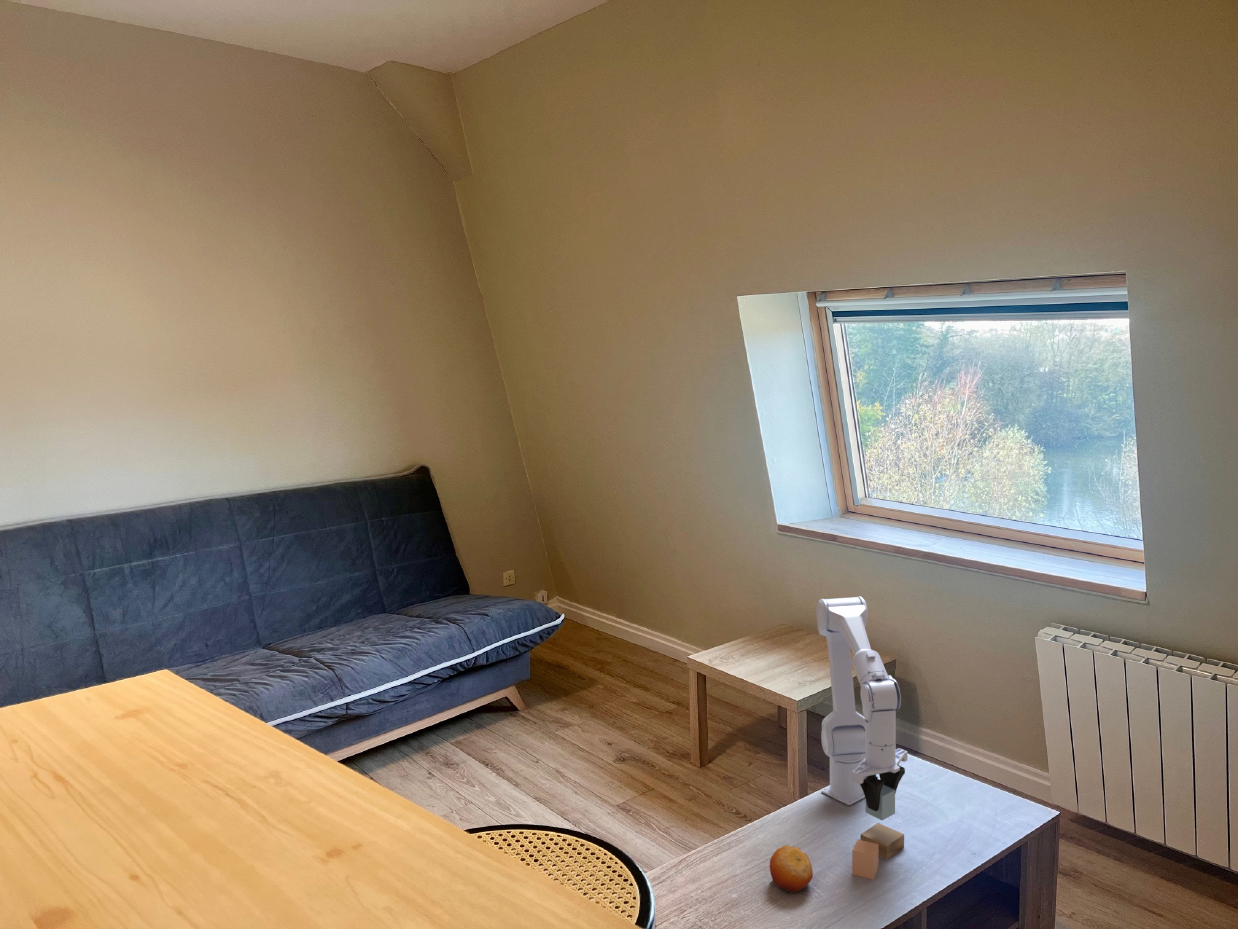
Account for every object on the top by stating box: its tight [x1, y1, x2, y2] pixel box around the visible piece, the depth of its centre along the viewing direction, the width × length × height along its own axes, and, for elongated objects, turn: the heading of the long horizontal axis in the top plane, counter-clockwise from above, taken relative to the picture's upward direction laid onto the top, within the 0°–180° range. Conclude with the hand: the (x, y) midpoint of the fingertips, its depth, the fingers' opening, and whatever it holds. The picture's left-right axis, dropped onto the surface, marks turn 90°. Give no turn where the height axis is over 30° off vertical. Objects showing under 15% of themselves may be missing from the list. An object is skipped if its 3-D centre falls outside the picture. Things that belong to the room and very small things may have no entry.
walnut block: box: [860, 822, 905, 860], centre depth 182 cm, size 6×6×3 cm
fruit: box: [769, 845, 814, 894], centre depth 171 cm, size 8×8×8 cm
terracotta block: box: [851, 839, 880, 881], centre depth 174 cm, size 4×4×5 cm
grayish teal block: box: [864, 785, 896, 821], centre depth 180 cm, size 4×4×5 cm
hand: (880, 805), depth 181 cm, fingers closed on grayish teal block, 4 cm apart
